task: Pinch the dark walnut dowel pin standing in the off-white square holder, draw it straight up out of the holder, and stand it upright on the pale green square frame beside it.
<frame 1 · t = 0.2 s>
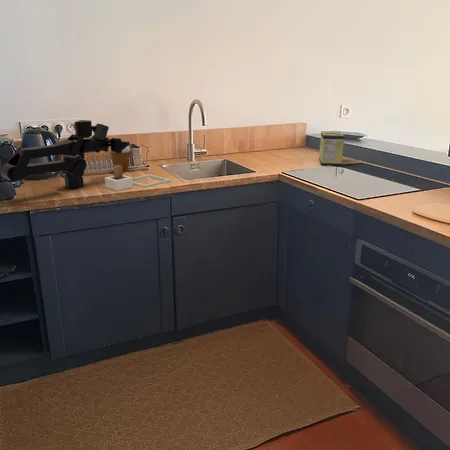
hand: (123, 142, 207), 17 cm above the worktop, tool horizontal, fingers open, 9 cm apart
walnut pin: (119, 187, 196), point 1 cm above the worktop, touching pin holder
pale green square frame: (147, 183, 205), on the worktop
disposable coffee cup: (121, 172, 225), on the worktop
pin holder: (119, 189, 196), on the worktop
protein box: (329, 163, 249), on the worktop
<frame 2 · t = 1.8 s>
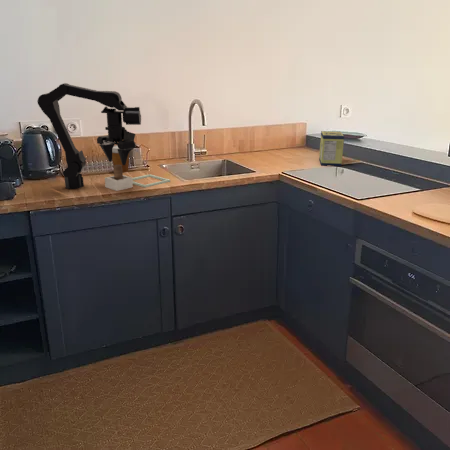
hand: (117, 163, 193), 11 cm above the worktop, tool pointing down, fingers open, 9 cm apart
nothing on the worktop moved.
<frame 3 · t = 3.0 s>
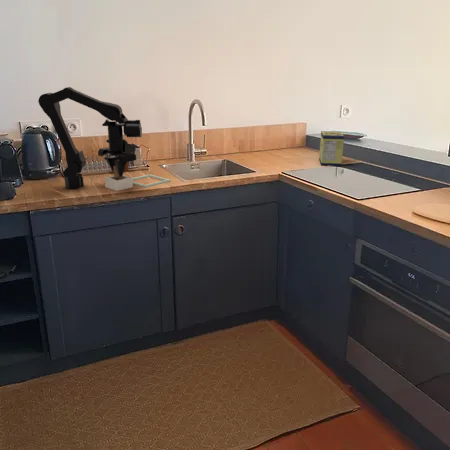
hand: (118, 175, 194), 6 cm above the worktop, tool pointing down, fingers closed on walnut pin, 3 cm apart
walnut pin: (119, 187, 196), point 1 cm above the worktop, touching gripper, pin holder
everything else where it was.
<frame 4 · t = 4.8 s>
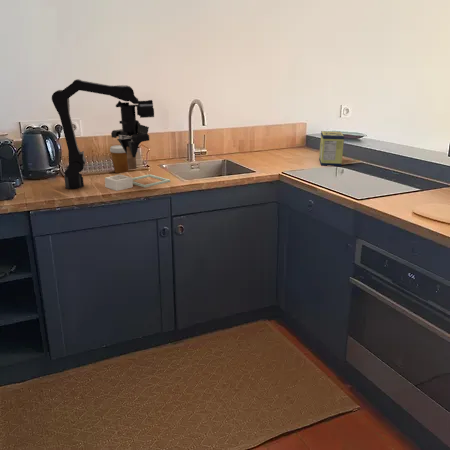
hand: (131, 156, 196), 13 cm above the worktop, tool pointing down, fingers closed on walnut pin, 3 cm apart
walnut pin: (132, 168, 198), point 8 cm above the worktop, touching gripper
everything else where it was.
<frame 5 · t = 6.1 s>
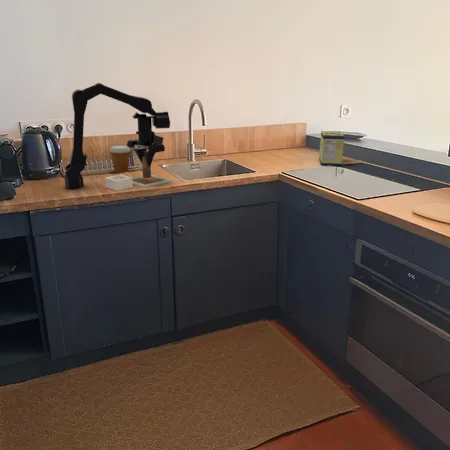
hand: (146, 165, 203), 8 cm above the worktop, tool pointing down, fingers closed on walnut pin, 3 cm apart
walnut pin: (147, 177, 204), point 3 cm above the worktop, touching gripper
everything else where it was.
when the fingers open (7 cm above the worktop, at t = 6.9 s): walnut pin drops 2 cm, resting on pale green square frame.
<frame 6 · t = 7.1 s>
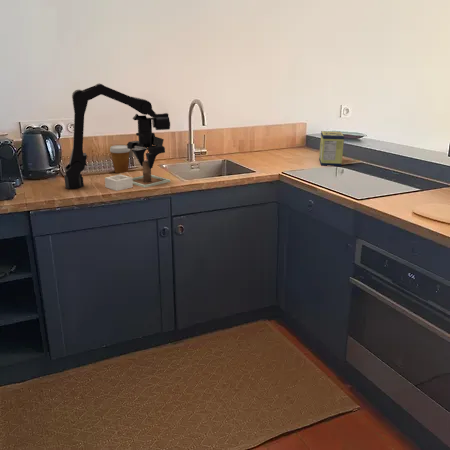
hand: (146, 167, 203), 7 cm above the worktop, tool pointing down, fingers open, 6 cm apart
walnut pin: (147, 182, 205), point 1 cm above the worktop, touching pale green square frame
everything else where it was.
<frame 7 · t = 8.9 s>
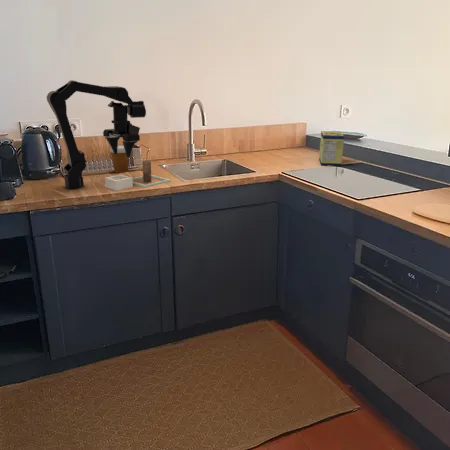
hand: (121, 155, 201), 12 cm above the worktop, tool pointing down, fingers open, 9 cm apart
nothing on the worktop moved.
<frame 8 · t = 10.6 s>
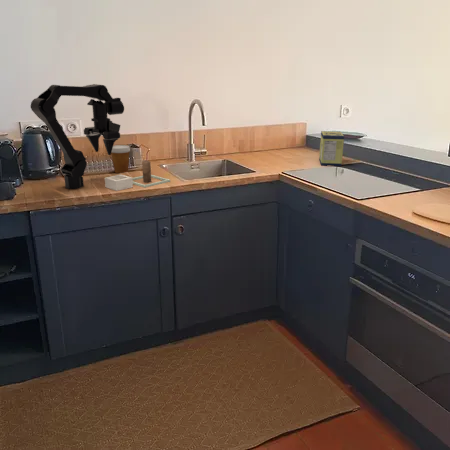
hand: (103, 153, 202), 13 cm above the worktop, tool pointing down, fingers open, 9 cm apart
nothing on the worktop moved.
at the end: walnut pin inside the target area on the pale green square frame (0.1 cm from its centre), point 0.6 cm above the pale green square frame's base; walnut pin tilted 1°; the gripper is holding nothing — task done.
